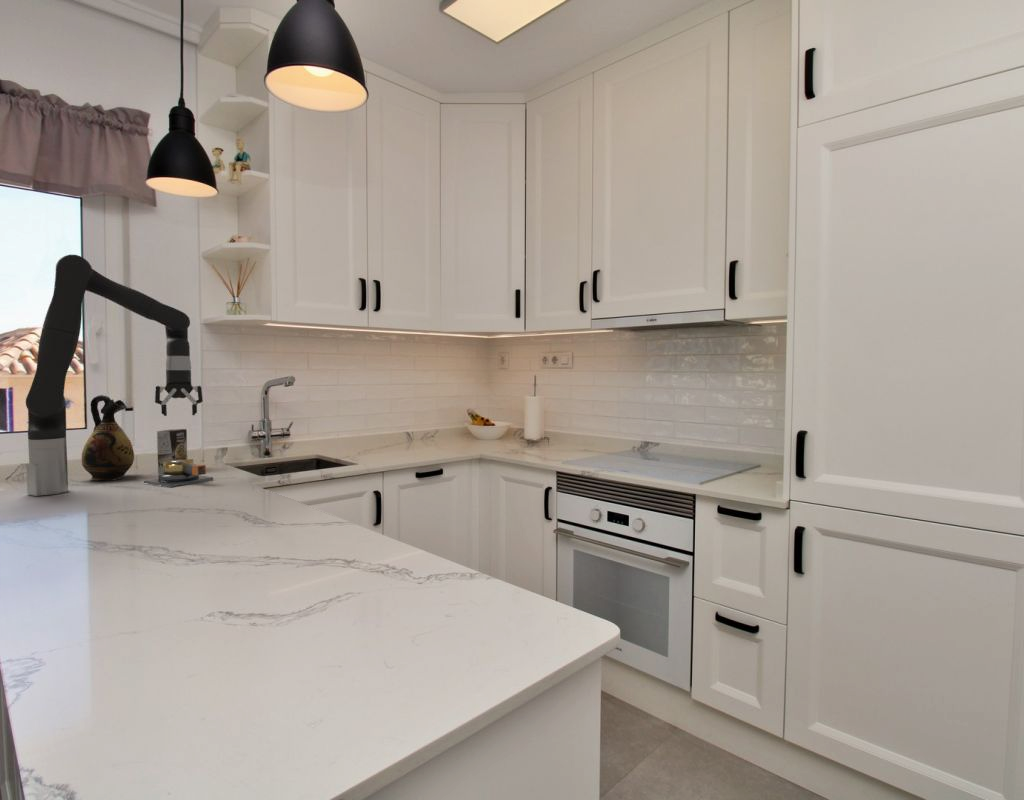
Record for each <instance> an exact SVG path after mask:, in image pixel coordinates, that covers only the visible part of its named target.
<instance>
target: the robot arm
mask: <svg viewBox="0 0 1024 800" xmlns="http://www.w3.org/2000/svg"><path fill="white" fill-rule="evenodd" d="M54 268H55V277H54V287H53V294H52V298H51V301H50V302H49V305H48V309H47V311H46V314H45V317H44V321H43V323H42V328H41V332H40V337H39V342H38V350H37V360H36V369H35V374H34V378H33V380H32V383H31V385H30V387H29V391H28V393H27V395H26V397H25V407H26V409H27V419H28V420H27V421H28V422H27V423H28V426H27V440H28V441H27V443H28V445H27V446H28V463H26V464H25V465H26V467H25V470H26V491H27V492H26V493H27V495H29V496H34V497H39V496H49V495H57V494H63V493H67V492H69V473H68V471H69V470H68V452H67V451H68V450H67V449H68V448H67V445H68V444H67V412H66V411H67V408H66V407H67V405H66V398H65V384H66V380H67V379H66V378H67V377H66V376H67V375H68V374H67V373H68V371H69V369H70V366H71V364H72V361H73V358H74V357H75V353H76V350H77V347H78V344H79V339H80V335H81V329H82V327H81V326H82V310H83V309H82V307H83V300H84V297H85V295H86V294H85V293H86V292H90V293H93V294H95V295H97V296H100V297H102V298H104V299H107V300H109V301H111V302H113V303H115V304H117V305H118V306H121V307H123V308H124V309H127V310H129V311H131V312H133V313H135V314H136V315H139V316H141V317H143V318H145V319H147V320H150V321H155V322H157V323H158V324H161V325H163V326H164V328H165V330H164V331H165V337H166V347H165V349H166V359H165V377H166V379H165V381H166V382H165V383H166V384H165V386H159V385H157V386H155V395H154V403H155V404H158V405H160V406H161V414H162V415H163V416H164V417H167V415H168V412H167V410H168V409H167V403H168V402H169V401H170V400H171V399H185V398H187V399H188V401H190V403H192V405H191V408H192V409H191V415H192V416H195V415H196V414H197V413H198V404H201V403H203V402H204V401H203V391H202V386H201V385H197V386H196V385H195V386H193V385H192V362H191V352H190V348H191V347H190V342H189V341H188V340H189V339H188V336H189V335H188V333H189V329H188V328H189V327H190V325H191V320H190V317H189V316H188V315H187V314H186V313H185V312H183V311H181V310H180V309H177V308H174V307H172V306H169V305H167V304H164V303H163V302H160V301H158V300H157V299H155V298H153V297H151V296H149V295H147V294H145V293H144V292H140V290H139V291H138V290H136V289H133V288H132V287H129V286H126V285H123V284H121V283H118V282H116V281H114V280H112V279H110V278H108V277H106V276H104V275H103V274H101V273H99V272H98V271H97V270H95V269H94V268H93V267H92V265H91V264H90V262H89V261H88V260H87V259H86V258H84V257H82V256H80V255H78V254H67V255H64V256H62V257H60V258H59V259H58V260H57V262H56V263H55V267H54ZM164 390H165V392H167V393H168V394H167V395H166V397H165V398H164V399H163V400H161V393H163V391H164ZM193 390H194V392H195V393H197V398H198V399H197V400H196V399H195V398H194V397H193V396H192V395H191V393H192V391H193Z"/></svg>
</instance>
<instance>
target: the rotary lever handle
mask: <svg viewBox="0 0 1024 800" xmlns="http://www.w3.org/2000/svg"><path fill="white" fill-rule="evenodd" d="M171 461H173V460H168V462H164V463H163V474H167V475H175V474H186V473H187V474H192V475H199V476H204V475H206V474H207V473H206V472H207V471H206V469H207V468H206V464H194V459H193V458H187V459H186V461H182V462H181V464H172V462H171Z"/></svg>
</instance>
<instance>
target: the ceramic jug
mask: <svg viewBox="0 0 1024 800" xmlns="http://www.w3.org/2000/svg"><path fill="white" fill-rule="evenodd" d="M100 402H104V403H103V404H104V405H103V406H102V408H100V412H99V408H98V406H99V404H100ZM126 409H127V405H126V404H125V402H124V401H122V400H121V399H118V400H115V401H114V399H111V398H110V397H109V396H107V395H103V394H98V395H97V396H95V397H93V398H92V399H91V401H90V413H91V415H92V419H93V422H94V428H93V430H92V432H91V434H90V436H89V438H88V439H87V440H86V442H85V444H84V446H83V449H82V452H81V465H82V467H83V468H84V470H85V471H86V472H87V473H89V474H90V475H91V480H93V481H98V480H107V481H112V480H111V479H117V480H120V479H119V478H121V479H124V478H123V477H125V475H126V473H127V472H128V471H129V469H131V468H132V466H133V464H134V460H135V452H134V448H133V444H132V442H131V440H130V438H129V437H128V435H127V434H126V432H125V431H124V429H122V427H121V426H120V425H119V424H118V423H117V421H116V418H115V415H116V413H119V412H120V411H122V410H123V411H124V410H126ZM100 413H101V414H102V418H101V416H100Z"/></svg>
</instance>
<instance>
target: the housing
mask: <svg viewBox="0 0 1024 800" xmlns="http://www.w3.org/2000/svg"><path fill="white" fill-rule="evenodd" d="M182 461H186V460H173V461H171V462H172V464H181V462H182ZM157 475H158V477H157V478H153V479H146V480H143V484H144V483H149V484H155V485H154V486H156V485H161V486H160V487H163V486H167V487H166V488H169V487H170V488H174V487H173V486H176V487H179V486H178V485H182V486H185V485H184V484H188V485H193V484H197V483H198V482H199V483H204V481H205V482H209V480H211V481H214V477H213V476H206V475H192V474H187V473H186V474H175V475H167V474H163V473H158V474H157ZM192 483H193V484H192ZM199 483H198V484H199ZM149 484H148V485H149Z"/></svg>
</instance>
